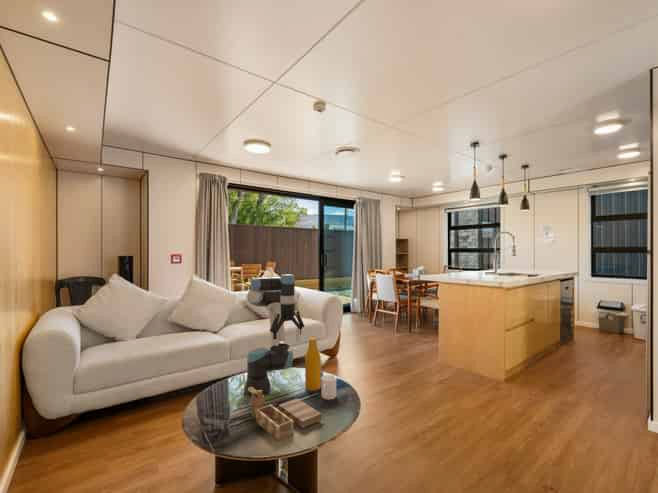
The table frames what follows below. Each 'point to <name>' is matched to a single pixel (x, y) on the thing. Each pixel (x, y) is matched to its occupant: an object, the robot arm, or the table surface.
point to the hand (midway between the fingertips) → (287, 343)
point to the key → (255, 391)
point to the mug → (328, 387)
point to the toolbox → (271, 418)
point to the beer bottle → (312, 366)
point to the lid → (300, 412)
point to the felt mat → (308, 426)
